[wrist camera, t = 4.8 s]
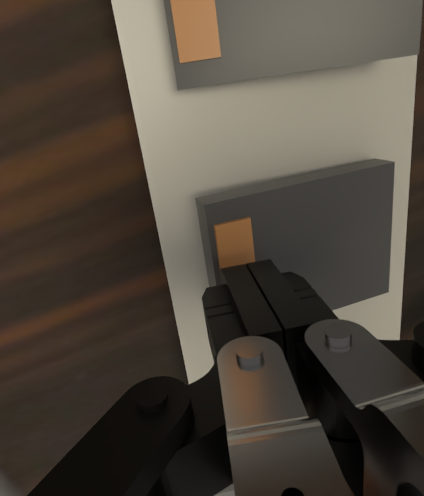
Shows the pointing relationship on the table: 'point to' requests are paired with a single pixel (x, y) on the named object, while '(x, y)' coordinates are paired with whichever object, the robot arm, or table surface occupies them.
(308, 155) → the power strip
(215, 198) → the switch middle
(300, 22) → the switch
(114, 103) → the table surface
